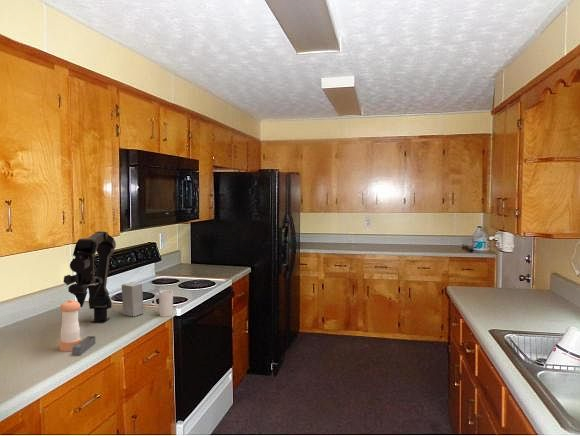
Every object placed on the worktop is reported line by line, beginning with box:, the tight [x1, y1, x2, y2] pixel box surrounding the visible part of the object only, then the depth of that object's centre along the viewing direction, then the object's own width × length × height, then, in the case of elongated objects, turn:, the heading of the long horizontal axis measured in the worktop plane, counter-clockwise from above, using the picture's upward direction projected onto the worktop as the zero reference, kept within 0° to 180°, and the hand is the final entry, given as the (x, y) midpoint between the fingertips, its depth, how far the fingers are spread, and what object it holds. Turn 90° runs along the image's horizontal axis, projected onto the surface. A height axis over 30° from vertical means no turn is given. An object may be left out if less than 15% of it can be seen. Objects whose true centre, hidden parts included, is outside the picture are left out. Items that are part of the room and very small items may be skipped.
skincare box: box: [121, 281, 144, 318], centre depth 204 cm, size 8×7×16 cm
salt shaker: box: [59, 299, 82, 353], centre depth 158 cm, size 7×7×19 cm
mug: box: [153, 289, 174, 318], centre depth 205 cm, size 10×7×12 cm, turn 78°
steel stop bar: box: [72, 335, 96, 356], centre depth 158 cm, size 12×3×3 cm, turn 1°
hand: (86, 304), depth 174 cm, fingers open, 9 cm apart
